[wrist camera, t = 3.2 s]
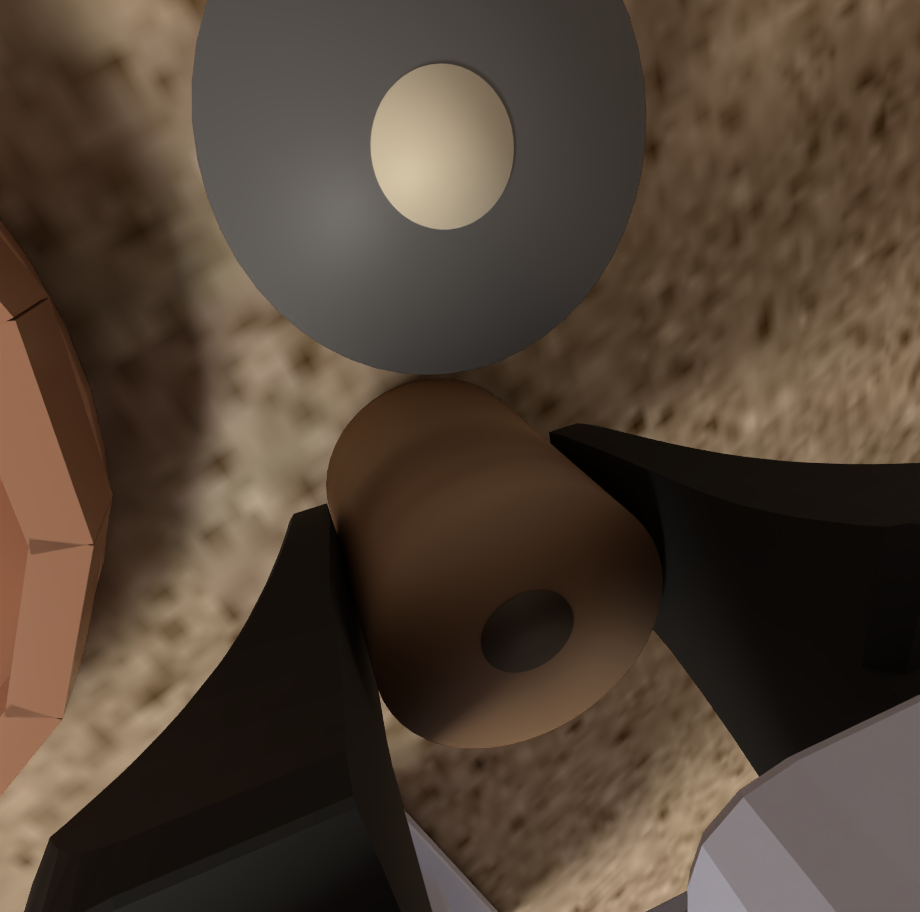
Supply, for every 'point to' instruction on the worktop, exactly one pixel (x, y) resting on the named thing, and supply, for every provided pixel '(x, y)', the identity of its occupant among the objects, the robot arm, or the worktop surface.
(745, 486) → the robot arm
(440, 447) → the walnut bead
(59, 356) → the ring tray
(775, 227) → the worktop surface
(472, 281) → the dark gray rounded cylinder
